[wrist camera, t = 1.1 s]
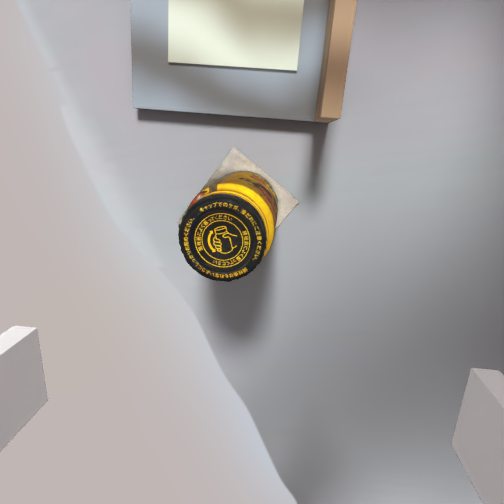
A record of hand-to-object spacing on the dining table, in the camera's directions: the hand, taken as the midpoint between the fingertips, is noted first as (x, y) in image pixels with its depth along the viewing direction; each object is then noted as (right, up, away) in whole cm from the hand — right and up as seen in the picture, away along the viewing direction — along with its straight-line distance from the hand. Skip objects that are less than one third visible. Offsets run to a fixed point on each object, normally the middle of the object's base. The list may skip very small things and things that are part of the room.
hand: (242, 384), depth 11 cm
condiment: (-1, +8, +21) cm, 23 cm away
